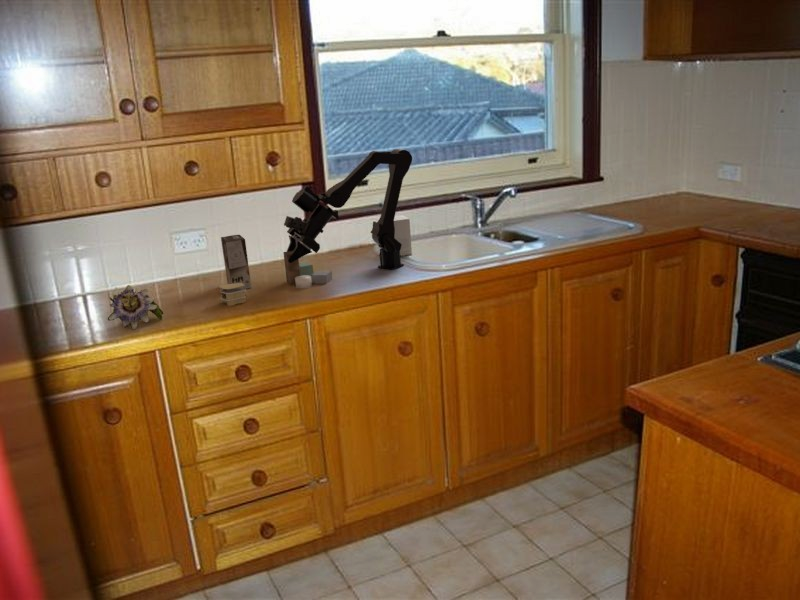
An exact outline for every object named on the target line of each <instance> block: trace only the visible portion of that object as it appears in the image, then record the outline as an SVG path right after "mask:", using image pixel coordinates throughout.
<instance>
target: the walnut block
mask: <svg viewBox="0 0 800 600" xmlns="http://www.w3.org/2000/svg"><path fill="white" fill-rule="evenodd" d="M292 252H293V251H287V250H286V251H283V260H284V270H285V276H286V277H285V278H286V283H287V284H288V285H289V286H293V285H295V286H296V283H295V277H297V276H300V269H299V263H300V262H299V261H300V260H299V259H297V260H295V261H294V262H292V263H290V262H288V260H289V258H290V256H291V254H292Z"/></svg>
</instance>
